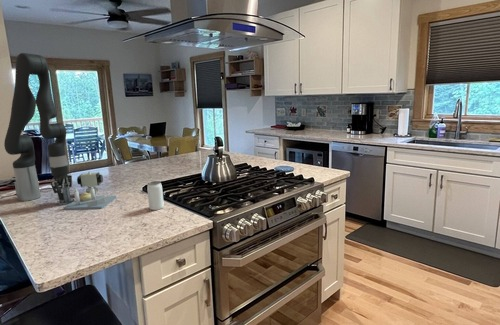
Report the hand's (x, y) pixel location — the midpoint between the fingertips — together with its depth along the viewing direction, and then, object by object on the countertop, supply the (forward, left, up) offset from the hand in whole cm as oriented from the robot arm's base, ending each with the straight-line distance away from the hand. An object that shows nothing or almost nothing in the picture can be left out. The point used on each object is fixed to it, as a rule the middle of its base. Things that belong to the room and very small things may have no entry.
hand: (64, 198), depth 156 cm
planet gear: (0, 0, -2) cm, 2 cm away
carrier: (+14, -2, -2) cm, 14 cm away
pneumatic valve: (+6, +15, -3) cm, 16 cm away
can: (+49, -11, -2) cm, 50 cm away
